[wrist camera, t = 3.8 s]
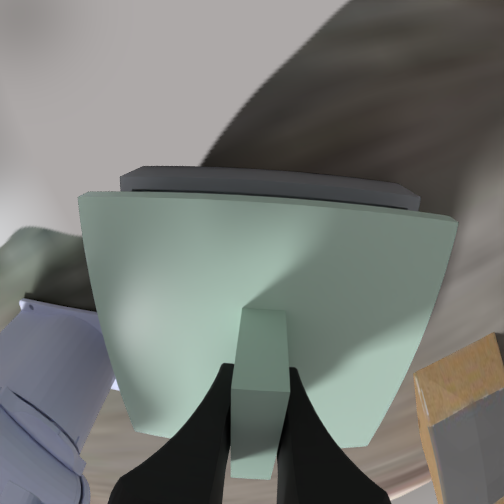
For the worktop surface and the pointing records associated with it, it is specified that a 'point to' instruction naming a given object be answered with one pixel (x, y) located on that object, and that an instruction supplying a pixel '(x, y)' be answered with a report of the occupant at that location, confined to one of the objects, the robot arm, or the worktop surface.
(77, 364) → the robot arm
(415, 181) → the worktop surface
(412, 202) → the tub
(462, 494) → the sandwich container
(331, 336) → the lid
